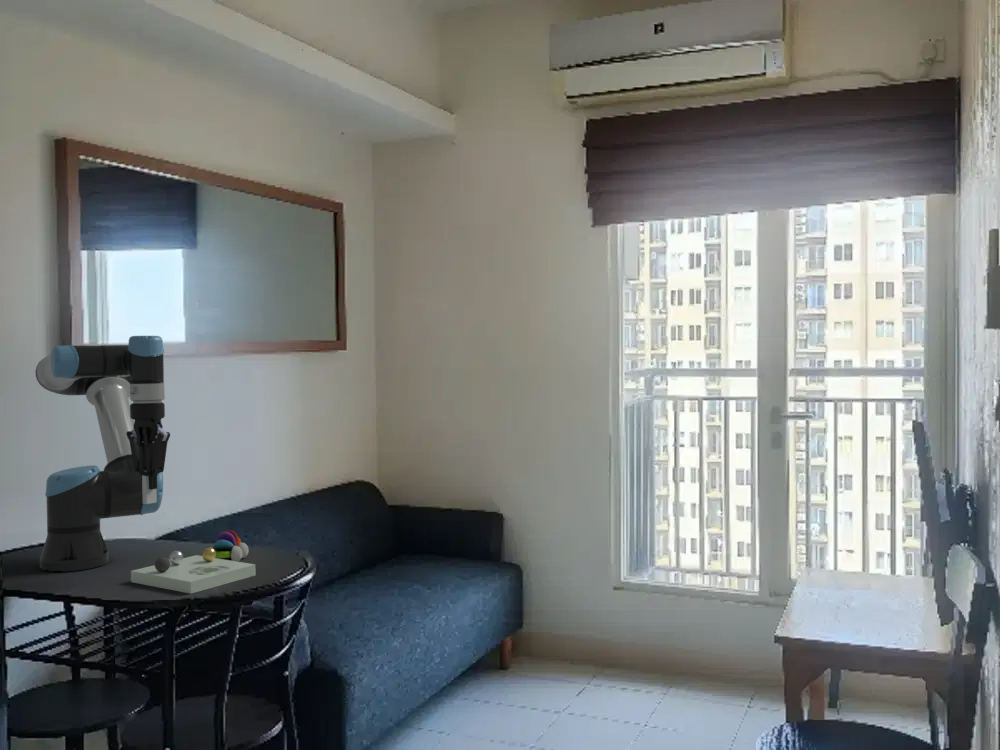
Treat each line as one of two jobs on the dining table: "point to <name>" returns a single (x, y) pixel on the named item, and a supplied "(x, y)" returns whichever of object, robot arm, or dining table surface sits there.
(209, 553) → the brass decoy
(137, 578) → the pale green flat slab
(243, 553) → the rainbow disc rolling toy
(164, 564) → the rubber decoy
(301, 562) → the dining table surface
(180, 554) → the steel ball
